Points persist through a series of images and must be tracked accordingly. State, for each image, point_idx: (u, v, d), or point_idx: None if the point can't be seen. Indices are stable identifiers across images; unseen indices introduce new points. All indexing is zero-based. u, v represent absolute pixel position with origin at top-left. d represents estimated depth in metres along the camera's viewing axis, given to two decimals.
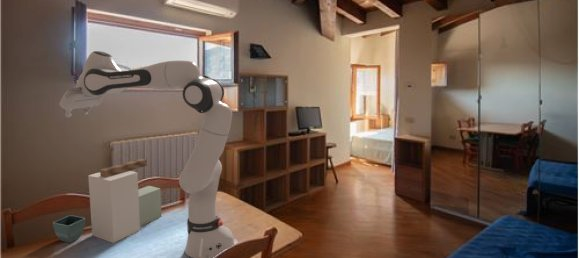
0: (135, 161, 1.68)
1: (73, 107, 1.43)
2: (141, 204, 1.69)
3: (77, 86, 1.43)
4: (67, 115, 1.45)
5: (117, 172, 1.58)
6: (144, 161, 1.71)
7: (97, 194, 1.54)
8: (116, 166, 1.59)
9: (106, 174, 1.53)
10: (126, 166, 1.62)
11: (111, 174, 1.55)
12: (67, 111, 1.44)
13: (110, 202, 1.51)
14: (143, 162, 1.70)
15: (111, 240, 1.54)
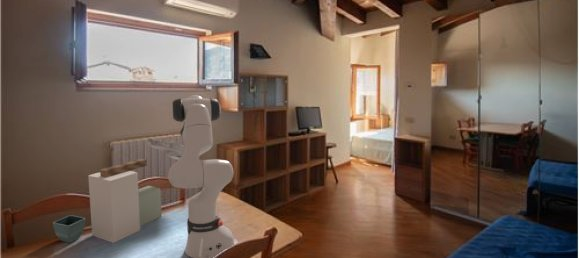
0: (135, 161, 1.68)
1: None
2: (141, 204, 1.69)
3: None
4: None
5: (117, 172, 1.58)
6: (144, 161, 1.71)
7: (97, 194, 1.54)
8: (116, 166, 1.59)
9: (106, 174, 1.53)
10: (126, 166, 1.62)
11: (111, 174, 1.55)
12: None
13: (110, 202, 1.51)
14: (143, 162, 1.70)
15: (111, 240, 1.54)
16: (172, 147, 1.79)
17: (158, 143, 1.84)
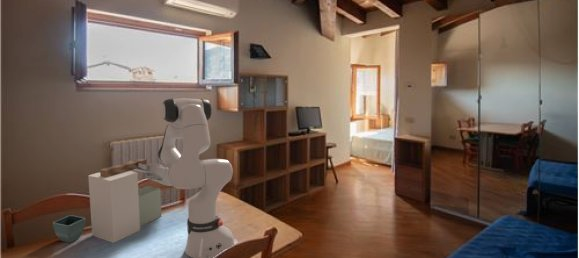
0: (135, 161, 1.68)
1: None
2: (141, 204, 1.69)
3: None
4: None
5: (117, 172, 1.58)
6: (144, 161, 1.71)
7: (97, 194, 1.54)
8: (116, 166, 1.59)
9: (106, 174, 1.53)
10: (126, 166, 1.62)
11: (111, 174, 1.55)
12: None
13: (110, 202, 1.51)
14: (143, 162, 1.70)
15: (111, 240, 1.54)
16: (152, 170, 1.68)
17: None
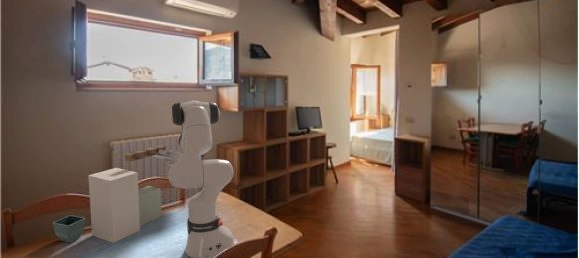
0: (155, 147, 1.79)
1: None
2: (141, 204, 1.69)
3: None
4: None
5: (140, 157, 1.68)
6: (164, 147, 1.81)
7: (97, 194, 1.54)
8: (139, 151, 1.70)
9: (130, 158, 1.63)
10: (148, 152, 1.72)
11: (135, 159, 1.66)
12: None
13: (110, 202, 1.51)
14: (162, 149, 1.81)
15: (111, 240, 1.54)
16: (171, 156, 1.79)
17: None
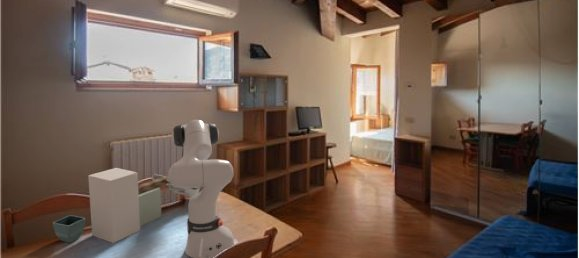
0: (161, 179, 1.84)
1: (159, 175, 1.91)
2: (141, 204, 1.69)
3: None
4: None
5: (146, 190, 1.74)
6: None
7: (97, 194, 1.54)
8: (145, 184, 1.75)
9: None
10: (153, 184, 1.78)
11: (141, 192, 1.71)
12: None
13: (110, 202, 1.51)
14: None
15: (111, 240, 1.54)
16: None
17: None
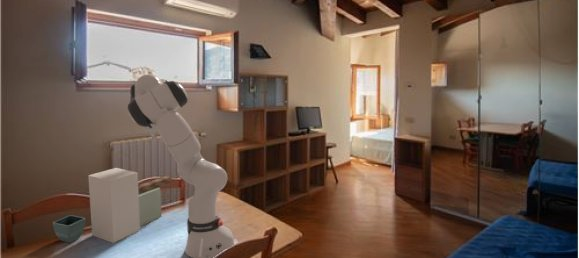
0: (161, 179, 1.84)
1: None
2: (141, 204, 1.69)
3: None
4: None
5: (146, 190, 1.74)
6: (169, 178, 1.87)
7: (97, 194, 1.54)
8: (145, 184, 1.75)
9: None
10: (153, 184, 1.78)
11: (141, 192, 1.71)
12: None
13: (110, 202, 1.51)
14: (168, 179, 1.86)
15: (111, 240, 1.54)
16: None
17: None
